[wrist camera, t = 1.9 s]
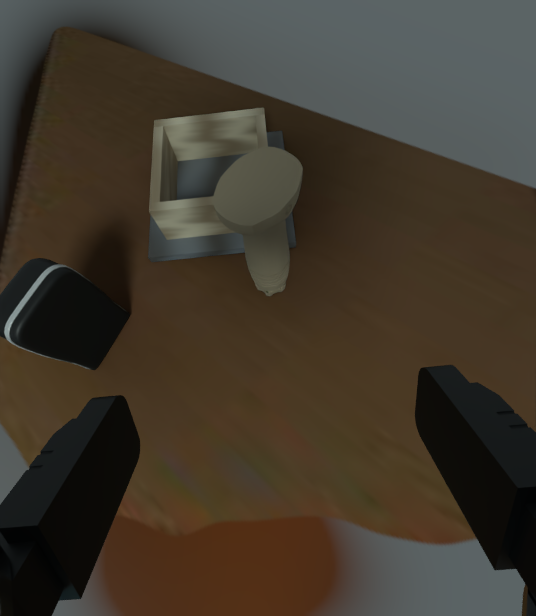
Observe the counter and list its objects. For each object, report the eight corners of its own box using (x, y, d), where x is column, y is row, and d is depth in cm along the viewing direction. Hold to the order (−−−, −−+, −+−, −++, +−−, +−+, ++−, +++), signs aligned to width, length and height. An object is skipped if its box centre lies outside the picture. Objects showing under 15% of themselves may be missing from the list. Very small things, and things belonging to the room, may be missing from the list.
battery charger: (104, 299, 36) (26, 243, 26) (133, 313, 36) (66, 260, 25) (66, 358, 34) (-37, 323, 24) (96, 374, 34) (4, 344, 23)
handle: (234, 293, 36) (197, 201, 22) (271, 249, 37) (258, 136, 23) (271, 319, 34) (257, 238, 20) (307, 272, 36) (317, 167, 22)
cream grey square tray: (282, 137, 43) (280, 92, 37) (295, 247, 37) (296, 213, 31) (157, 151, 43) (137, 109, 38) (151, 262, 38) (127, 231, 32)
